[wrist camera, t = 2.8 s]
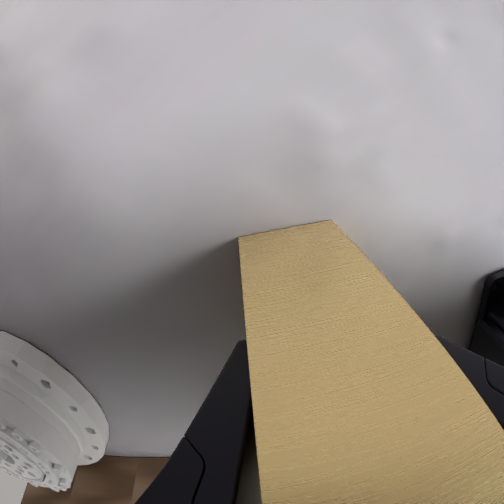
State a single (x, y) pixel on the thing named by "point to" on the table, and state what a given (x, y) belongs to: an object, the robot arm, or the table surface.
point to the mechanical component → (45, 418)
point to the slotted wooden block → (102, 482)
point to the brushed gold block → (355, 383)
